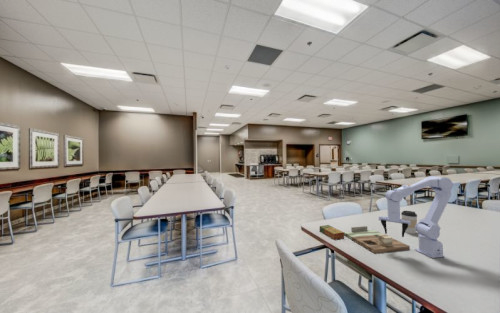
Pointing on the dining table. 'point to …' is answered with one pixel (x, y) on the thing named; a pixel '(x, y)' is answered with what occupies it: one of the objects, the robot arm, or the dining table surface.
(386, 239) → the block
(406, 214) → the coffee cup
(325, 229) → the carton
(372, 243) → the board
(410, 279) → the dining table surface
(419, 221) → the robot arm
